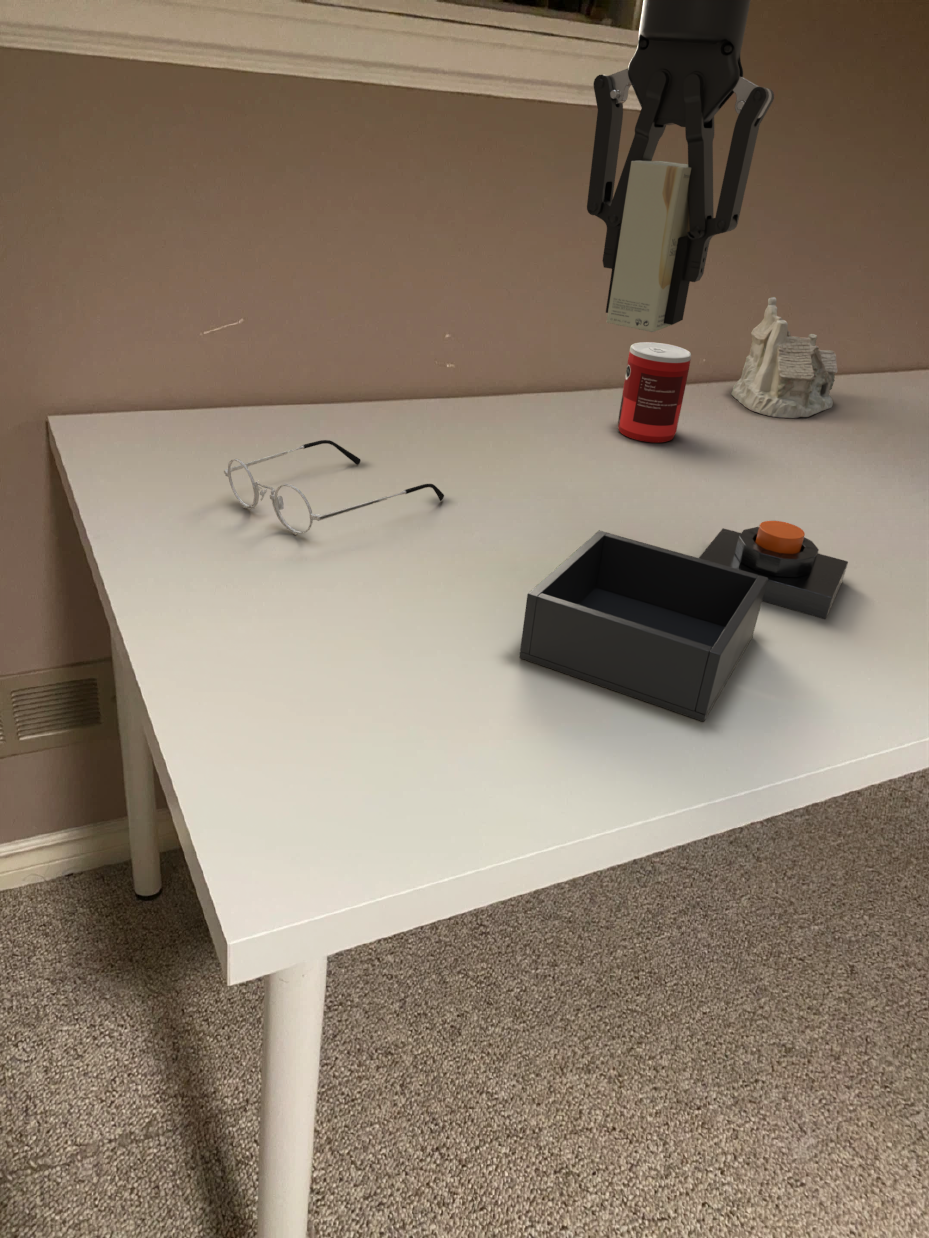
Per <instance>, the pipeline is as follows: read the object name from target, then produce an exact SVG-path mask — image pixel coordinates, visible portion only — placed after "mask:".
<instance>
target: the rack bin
mask: <svg viewBox="0 0 929 1238" xmlns="http://www.w3.org/2000/svg"><path fill="white" fill-rule="evenodd" d="M767 581H768V578H767V577H763V576H760V575H759V576H758V575H757V574H753V573H750V572H746V571H743V570H739V569H735V568H732V567H728V566H725V565H721V564H718V563H714V562H710V561H707V560H703V559H700V558H699V557H696V556H692V555H689V554H685V553H681V552H678V551H675V550H671V549H668V548H664V547H660V546H657V545H653V544H650V543H646V542H643V541H640V540H635V539H631V538H628V537H624V536H621V535H617V534H615V533H611V532H608V531H603V530H600V529H599V530H598V531H596V532H595V533H594V534H593V535H592V536H591V537H590V538H588V539H587V540H586V541H585V542H584V543H583V544H582V545H581V546H579V547H578V548H577V549H576V550H575V551H574V552H573V553H572V554H570V555H569V556H568V557H567V558H566V559H565V560H563V562H561V563H560V564H559V565H558V566H557V567H556V568H555V569H553V570H552V571H551V572H550V573H549V574H548V575H547V576H545V578H544V579H542V580H541V581H540V582H539V583H538V584H536V586H535V587H534V588H532V589H531V590H530V591H529V592H528V593H527V595H526V603H525V611H524V617H523V618H524V619H523V626H522V633H521V641H520V649H519V659H522V660H525V661H528V662H531V663H534V664H537V665H539V666H542V667H545V668H548V669H550V670H554V671H556V672H559V673H562V674H565V675H568V676H570V677H574V678H575V679H576V678H577V679H579V680H582V681H585V682H589V683H591V684H594V685H597V686H599V687H603V688H605V689H608V690H611V691H614V692H616V693H620V694H622V695H625V696H628V697H631V698H634V699H636V700H639V701H643V702H646V703H648V704H651V705H654V706H656V707H660V708H663V709H666V710H668V711H672V712H673V713H674V712H675V713H677V714H680V715H682V716H686V717H688V718H691V719H695V720H697V721H700V722H703V723H704V722H705V720H706V719H707V718H708V715H709V713H710V712H711V710H712V708H713V707H714V705H715V703H716V701H717V700H718V698H719V696H720V694H722V691H723V690H724V687H725V686H726V684H727V682H728V680H729V679H730V677H731V675H732V674H733V672H734V670H735V668H736V666H737V665H738V663H739V662H740V660H741V658H742V656H743V654H744V653H745V651H746V649H747V647H748V646H749V644H750V642H751V640H752V639H753V637H754V632H755V628H756V625H757V621H758V618H759V614H760V611H761V607H762V602H763V601H762V599H763V596H764V592H765V588H766V585H767Z"/></svg>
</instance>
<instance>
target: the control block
mask: <svg viewBox="0 0 929 1238" xmlns="http://www.w3.org/2000/svg"><path fill="white" fill-rule="evenodd" d="M758 530H759V526H755V527H750V528H746V529H743V530H742V531H741V532H740V531H739V532H738V531H735V530H731V529H727V528H722V529H721V530H720V531H719V532H718V533H717V535H716V536H715V537H714V538H713V540H712V541H711V542H710V543H709V544H708V546H707V547H706V548H705V550H704V551H703V552H702V553H701V554H700V556H699V557H698V558H700V559H703V560H707V561H710V562H714V563H718V564H721V565H725V566H728V567H732V568H735V569H739V570H743V571H746V572H750V573H753V574H757V575H758V576H759V575H760V576H763V577H767V578H768V581H767V585H766V588H765V592H764V596H763V599H762V602H763V603H767V604H771V605H774V606H776V607H777V606H778V607H781V608H785V609H789V610H791V611H795V612H798V613H801V614H806V615H808V616H812V617H816V618H819V619H821V620H826V619H827V617H828V615H829V612H830V610H831V608H832V605H833V604H834V601H835V599H836V597H837V594H838V592H839V590H840V588H841V585H842V583H843V580H844V577H845V574H846V571H847V568H848V564H849V561H848V560H844V559H840V558H836V557H832V556H830V555H825V554H822V553H819V548H818V546H817V545H816V544H815V543H814V542H813V541H812V540H811V539H808V538H806V537H805V536H804V539H803V543H802V546H801V550H800V552H799V553H795V554H785V553H778V552H774V551H770V550H766V549H764V548H762V547H761V546H759V545H757V544H756V543H755V541H756V537H757V534H758Z"/></svg>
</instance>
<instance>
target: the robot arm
mask: <svg viewBox="0 0 929 1238" xmlns="http://www.w3.org/2000/svg"><path fill="white" fill-rule="evenodd" d="M751 2H752V1H751V0H643V2H642V9H641V15H640V22H639V29H638V39H637V40H638V41H637V47H636V50H635V53H634V54H633V56H632V58H631V60H630V61H629V63H628V66H627V68H625V69H622V70H620V71H617V72H614V73H612V74H609V75H607V74H599V75H597V76H596V77H595V78H594V80H593V92H594V97H595V103H596V107H597V112H596V113H597V115H596V123H595V131H594V139H593V140H594V141H593V149H592V157H591V166H590V174H589V175H590V176H589V184H588V193H587V200H586V210H587V213H588V214H589V215H591V216H595V217H597V218H598V219H600V220H602V221H603V222H604V224H605V226H606V234H605V239H604V240H605V241H604V246H603V247H604V248H603V254H602V265H603V268H604V269H610V270H611V273H610V280H609V287H608V293H607V301H606V305H605V306H606V308H605V314H606V313H607V314H608V309H609V303H610V296H611V290H612V283H613V277H614V270H615V264H616V258H617V251H618V245H619V238H620V232H621V225H622V218H623V212H624V206H625V199H626V193H627V186H628V180H629V173H630V167H631V161H653V158H654V155H655V152H656V150H657V147H658V145H659V141H660V139H661V138H662V137H663V135H664V133H665V130H666V128H667V126H673V125H676V126H679V127H680V128H684V129H685V141H686V142H687V143H686V144H687V164H688V167H690V168H691V173H690V178H689V232H687V236H684V237H680V238H679V239H678V244H677V250H676V256H675V261H674V267H673V273H672V278H671V284H670V290H669V295H668V301H667V307H666V312H665V318H664V323H665V324H670V326H673V325H676V324H677V323H679V322H681V321H683V320H684V314H685V310H686V304H687V298H688V292H689V288H690V284H691V283H690V282H692V283H696V282H698V281H699V282H700V280H701V279H702V277H703V275H704V273H705V268H706V267H705V266H706V263H707V262H706V261H707V257H708V252H709V246H710V242H711V240H712V238H713V237H715V236H717V235H720V234H723V233H724V234H725V233H728V232H731V231H734V230H735V229H736V228H737V226H738V224H739V221H740V215H741V211H742V206H743V201H744V197H745V193H746V188H747V183H748V179H749V174H750V171H751V166H752V161H753V157H754V153H755V147H756V143H757V139H758V134H759V130H760V125H761V124H762V122H763V120H764V118H765V116H766V114H767V113H768V110H769V109H770V107H771V105H772V104H773V102H774V99H775V94H774V91H773V89H771V88H768V87H763V86H760V85H757V84H755V82H752V81H751V80H749V79H747V78H746V77H744V69H743V66H742V62H741V52H742V47H743V42H744V37H745V32H746V27H747V20H748V15H749V10H750V5H751ZM631 87H632V89H633V92H634V94H635V97H636V98H637V101H638V103H639V106H640V107H641V108H640V111H639V115H638V118H637V119H636V123H635V126H634V136H633V138H632V140H631V141H632V142H631V145H630V147H629V150H628V154H627V156H626V159H625V162H624V165H623V168H622V170H621V173H620V177H619V180H618V183H617V186H616V188H615V183H616V175H617V168H618V167H617V166H618V160H619V159H618V158H619V151H620V142H621V136H622V135H621V134H622V127H623V119H624V103H626V101H627V100H628V97H629V90H630V88H631ZM733 94H735V97H736V100H735V104H734V111H735V112H736V114H738V115H737V118H736V120H735V123H734V127H733V131H732V137H731V140H730V141H731V142H730V146H729V151H728V155H727V160H726V164H725V170H724V175H723V179H722V183H721V188H720V193H719V198H718V203H717V207H716V212H715V217H714V138H715V116H716V114H717V113H718V112H719V111H720V110H721V109H722V107H723V106H724V105H725V104H726V103H727V102H728V101H729V99H730V98H731V97H732V96H733ZM614 190H615V192H614Z"/></svg>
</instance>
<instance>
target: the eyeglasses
mask: <svg viewBox="0 0 929 1238" xmlns="http://www.w3.org/2000/svg"><path fill="white" fill-rule="evenodd" d="M324 444H326V445H327V444H328V445H331V446H333V447H334V448H336V450H338V451H339V452H340V453H342V454H343V455H344V456H345V457H346V458H348V459H349V460H350V461H351V462H352V463H354V464H355V465H360V463H361V458H360V457H358V456H356V455H355V454H353V453H352V452H350V451H349V450H347V449H345V448H344V447H342V446H341V445H340V444H338V443H336V442H334V441H333V440H329V439H322V440H321V439H320V440H316V441H313V442H308V443H305V444H302V445H300V446H299V447H296V448H294V449H290V450H285V451H281V452H278V453H275V454H272V455H268V456H265V457H262V458H258V459H255V460H252V461H249V462H245V463H244V462H243V461H242V460H241V459H239V458H234V459H231V460H230V461H229V463H228V465H227V468H225V469H223V474H224V475H225V477H228V481H229V485H230V487H231V490H232V492H233V495H234V496H235V498H236V499H237V500H238V502H239V503H240V504H241V505H242V508H243V509H247V510H255V509H256V508H257V506H258V504H259V500H260V502H262V501H263V500H264V497H265V495H266V493H267V490H270V494H269V499H270V500H271V505H272V507H273V510H274V512H275V515H276V517H277V519H278V520H279V521H280V523H281V524H282V526H283V527H284V528H285V529H286V530H288V532H291V533H292V534H293V535H295V536H298V535H299V534H300V535H302V534H306V533H308V532H309V531H310V530H311V529H312V526H313V524H314V523H313V522H314V521H318V522H319V521H322V520H327V519H329V518H330V519H331V518H333V517H335V516H336V517H337V516H339V515H342V514H345V513H348V512H352V511H356V510H358V509H361V508H365V507H368V506H371V505H374V504H377V503H378V504H379V503H381V502H383V501H387V500H388V499H391V498H393V497H394V498H395V497H397V496H400V495H401V496H402V495H408V494H411V493H414V492H417V491H420V490H423V489H427V488H430V489H433V492H434V493H435V494H436V496H437V498H438V500H439V501H440V502H442V501H443V499H444V498H445V494H444V493H443V492H442V491H441V490H440V489H439V488H438V487H437V486H436V485H435V484H433V483H424V484H423V483H422V484H420V485H415V486H413V487H410V488H406V489H404V490H402V491H400V492H398V493H395V494H393V495H389V496H383V497H379V498H376V499H373V500H370V501H369V500H368V501H366V502H363V503H359V504H355V505H353V506H348V507H345V508H342V509H339V510H335V511H331V512H328V513H325V514H317V513H313V509H312V506H311V505H310V502H309V500H308V499H307V497H306V496H305V494H304V493H303V491H301V490H300V489H299V488H298V487H296V486H294V485H293V484H289V483H285V484H282V485H280V486H278V487H277V488H276V490H275V488H274V487H271V486H267V485H265V484H262V483H261V482H260V481H259V480H256V481H255V479H254V476H253V474H252V472H251V471H250V469H249V467H250V466H254V465H257V464H260V463H263V462H266V461H269V460H273V459H276V458H279V457H281V456H285V455H287V454H288V453H291V452H295V451H298V450H305V449H309V448H312V447H315V446H320V445H324ZM234 461H235V462H237V463H239V464H238V465H235V466H232V464H233V462H234ZM242 469H244V470H245V471H246V473H247V476H248V477H249V479H250V482H251V485H252V489H253V502H252V504H251V505H249V504H247V503H245V502H244V501H243V500H242V498H241V497H240V496H239V494H238V492H237V490H236V488H235V486H234V481H233V477H232V472H235V471H238V470H242ZM282 487H288V488H291V489H293V490H294V491H295V492H297V493H298V494H299V495H300V496H301V498H302V499H303V501H304V503H305V505H306V508H307V509H308V513H309V514H308V515H309V524H308V528H307V529H306V530H305V531H299V530H297V529H295V528H293V526H291V525H289V523H288V522H287V521H286V520H285V518H284V516H283V515H282V513H281V510H284V508H285V507H284V498H283V496H282V495H278V494H279V491H280V489H281V488H282ZM263 488H264V490H263ZM260 490H261V491H260ZM260 496H261V498H260ZM259 498H260V499H259Z"/></svg>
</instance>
